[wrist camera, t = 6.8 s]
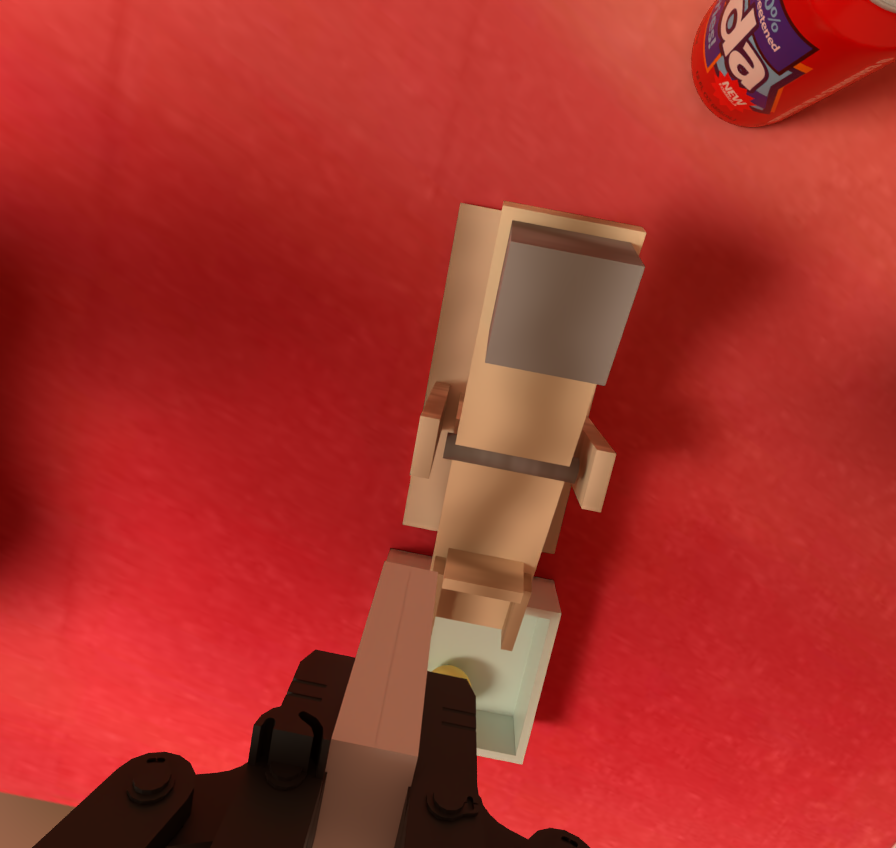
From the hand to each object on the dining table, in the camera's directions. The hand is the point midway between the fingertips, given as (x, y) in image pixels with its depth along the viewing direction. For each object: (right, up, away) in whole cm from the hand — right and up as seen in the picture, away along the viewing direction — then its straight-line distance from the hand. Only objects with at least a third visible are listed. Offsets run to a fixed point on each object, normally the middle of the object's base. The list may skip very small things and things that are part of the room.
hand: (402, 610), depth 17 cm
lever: (+5, +3, +15) cm, 16 cm away
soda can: (+19, +27, +19) cm, 38 cm away
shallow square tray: (+2, -11, +29) cm, 31 cm away
